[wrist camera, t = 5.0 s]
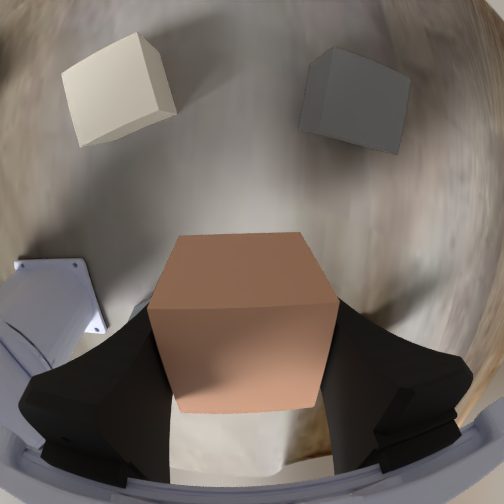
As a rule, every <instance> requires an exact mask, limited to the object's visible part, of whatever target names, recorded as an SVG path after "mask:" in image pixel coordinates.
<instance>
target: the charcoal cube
mask: <svg viewBox="0 0 504 504" xmlns="http://www.w3.org/2000/svg"><path fill="white" fill-rule="evenodd" d="M410 82H411V78H409V77H407V76H405V75H403V74H401V73H399V72H397V71H395V70H393V69H390V68H388V67H386V66H384V65H381V64H379V63H377V62H374V61H372V60H369V59H367V58H364V57H362V56H359V55H357V54H354V53H351V52H348V51H345V50H343V49H340V48H337V47H333V48H331V49H330V50H328V51H327V52H326V53H324V54H323V55H322V56H320V57H319V58H318V59H316V60H315V61H314V62H312V63H311V64H310V67H309V73H308V78H307V84H306V89H305V94H304V100H303V105H302V110H301V116H300V121H299V126H298V130H300V131H305V132H309V133H313V134H317V135H321V136H325V137H329V138H333V139H336V140H340V141H344V142H347V143H351V144H354V145H357V146H361V147H365V148H369V149H374V150H378V151H382V152H387V153H391V154H395V155H398V151H399V146H400V142H401V137H402V132H403V126H404V121H405V115H406V109H407V103H408V96H409V89H410Z"/></svg>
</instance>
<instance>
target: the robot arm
mask: <svg viewBox="0 0 504 504" xmlns="http://www.w3.org/2000/svg"><path fill="white" fill-rule="evenodd" d="M75 263H76V264H77V266H76V265H75ZM14 267H15V270H16V272H15V273H14V274H13V275H12V276H11V277H10V278H8V279H7V280H6V281H5V282H4V283H3V284H2V285H1V286H0V487H1V488H2V489H4V490H5V491H7V492H8V493H10V494H11V495H13V496H14V497H16V498H17V499H19V500H20V501H22V502H24V503H26V504H445V503H446V502H448V501H450V500H451V499H453V498H455V497H456V496H458V495H459V494H461V493H462V492H464V491H465V490H467V489H468V488H470V487H471V486H473V485H474V484H475V483H477V482H478V481H479V480H481V479H482V478H484V477H485V476H486V475H487V474H489V473H490V472H491V471H492V470H494V469H495V468H496V467H497V466H499V465H500V464H501V463H502V462H503V461H504V398H503V397H501V398H500V399H498V400H497V401H495V402H494V403H492V404H490V405H489V406H488V407H486V408H485V409H484V410H483V411H481V412H480V414H479V415H478V416H477V417H476V418H475V419H474V421H473V422H471V423H470V424H468V425H466V426H464V427H463V428H461V429H459V428H458V426H457V424H456V422H455V420H454V419H456V417H457V413H456V411H455V409H454V408H455V406H456V405H457V404H458V403H459V401H460V400H461V399H462V398H463V396H464V395H465V394H466V392H467V391H468V389H469V388H470V386H471V383H472V381H473V373H472V372H471V370H470V369H469V367H468V366H467V365H466V363H465V362H464V360H463V359H462V358H461V357H459V356H455V355H451V354H446V353H442V352H438V351H435V350H432V349H429V348H426V347H422V346H420V345H417V344H414V343H412V342H410V341H407V340H405V339H403V338H401V337H398V336H396V335H394V334H392V333H390V332H388V331H387V330H385V329H383V328H381V327H379V326H378V325H376V324H374V323H373V322H371V321H370V320H368V319H367V318H365V317H364V316H362V315H361V314H359V313H358V312H357V311H355V310H354V309H352V308H351V307H350V306H349V305H347V304H346V303H345V302H343V301H342V300H341V299H340V298H338V297H337V298H338V299H339V301H340V303H339V308H338V313H337V318H336V323H335V327H334V332H333V336H332V341H331V345H330V349H329V353H328V357H327V361H326V365H325V369H324V373H323V377H322V380H321V384H320V389H321V392H322V396H323V401H324V405H325V410H326V415H327V421H328V426H329V432H330V439H331V446H332V453H333V462H334V471H335V472H334V473H335V475H334V476H329V477H324V478H319V479H314V480H308V481H302V482H294V483H287V484H278V485H267V486H252V487H200V486H185V485H175V484H170V467H169V437H170V417H171V404H172V396H173V391H172V389H171V386H170V383H169V380H168V377H167V374H166V371H165V368H164V365H163V362H162V359H161V356H160V353H159V350H158V346H157V343H156V340H155V336H154V333H153V329H152V326H151V322H150V319H149V315H148V311H147V307H148V305H149V303H150V302H149V303H148V304H147V305H146V306H145V307H144V308H143V309H142V310H141V311H140V312H139V313H138V314H137V315H136V316H134V317H133V318H132V319H131V320H130V321H129V322H128V323H127V324H125V325H124V326H123V327H122V328H121V329H120V330H118V331H117V332H116V333H115V334H113V335H112V336H111V337H109V338H108V339H107V340H105V341H104V342H103V343H101V344H100V345H98V346H96V347H95V348H93V349H91V350H90V351H88V352H86V353H85V354H83V355H82V356H80V357H78V358H76V359H74V360H72V361H70V362H68V361H69V359H70V357H71V355H72V353H73V351H74V350H75V348H76V346H77V344H78V342H79V340H80V339H81V337H82V335H83V333H84V332H89V333H100V334H105V333H106V331H107V328H106V325H105V322H104V320H103V317H102V314H101V311H100V308H99V305H98V302H97V299H96V296H95V293H94V290H93V287H92V284H91V280H90V277H89V273H88V270H87V266H86V263H85V261H84V260H83V259H81V258H68V259H32V260H16V261H15V262H14ZM97 328H98V329H97ZM351 493H352V494H351Z"/></svg>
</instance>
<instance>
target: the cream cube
mask: <svg viewBox="0 0 504 504" xmlns="http://www.w3.org/2000/svg"><path fill="white" fill-rule="evenodd" d="M62 79H63V84H64V89H65V93H66V97H67V102H68V106H69V110H70V114H71V118H72V121H73V125H74V129H75V132H76V135H77V139H78V142H79V145H80V147H85V146H90V145H95V144H100V143H106V142H111V141H115V140H117V139H119V138H122V137H124V136H126V135H128V134H130V133H133V132H135V131H137V130H140V129H142V128H144V127H147V126H149V125H152V124H154V123H157V122H159V121H162V120H164V119H167V118H170V117H172V116H175V115H178V113H177V110H176V107H175V104H174V100H173V97H172V94H171V90H170V87H169V84H168V80H167V77H166V73H165V70H164V66H163V63H162V59H161V56H160V53H159V52H158V51H157V50H156V49H155V48H154V47H153V46H152V45H151V44H150V43H149V42H148V41H147V40H145V39H144V38H143V37H142V36H141V35H140V34H139V33H138V32H136V33H134V34H131V35H129V36H127V37H125V38H123V39H121V40H119V41H117V42H115V43H113V44H111V45H109V46H107V47H105V48H103V49H101V50H99V51H98V52H96V53H94V54H92V55H91V56H89V57H87V58H85V59H84V60H82V61H80V62H79V63H77V64H76V65H74V66H72V67H71V68H69V69H68V70H66V71H65V72H63V73H62Z"/></svg>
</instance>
